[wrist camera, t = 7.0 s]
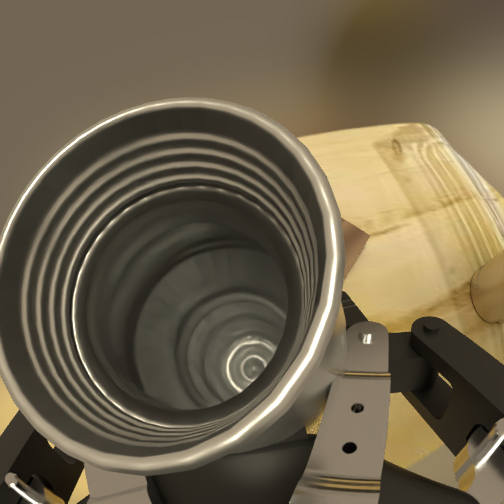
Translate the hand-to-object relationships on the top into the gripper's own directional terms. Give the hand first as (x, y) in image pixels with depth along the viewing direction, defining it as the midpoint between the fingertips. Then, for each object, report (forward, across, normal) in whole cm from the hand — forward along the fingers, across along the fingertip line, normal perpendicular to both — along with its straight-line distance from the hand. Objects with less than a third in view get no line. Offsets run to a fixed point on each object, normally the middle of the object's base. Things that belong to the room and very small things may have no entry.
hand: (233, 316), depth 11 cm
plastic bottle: (+6, 0, +9) cm, 11 cm away
